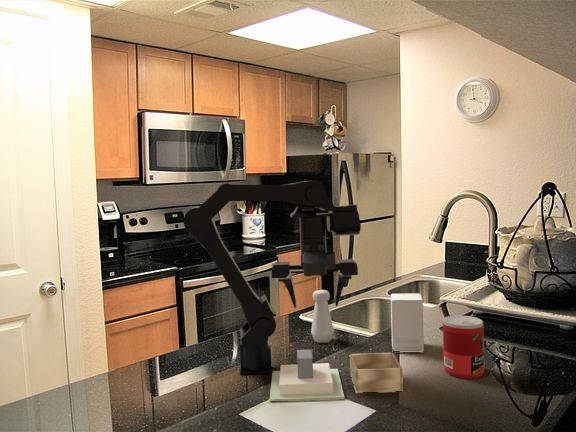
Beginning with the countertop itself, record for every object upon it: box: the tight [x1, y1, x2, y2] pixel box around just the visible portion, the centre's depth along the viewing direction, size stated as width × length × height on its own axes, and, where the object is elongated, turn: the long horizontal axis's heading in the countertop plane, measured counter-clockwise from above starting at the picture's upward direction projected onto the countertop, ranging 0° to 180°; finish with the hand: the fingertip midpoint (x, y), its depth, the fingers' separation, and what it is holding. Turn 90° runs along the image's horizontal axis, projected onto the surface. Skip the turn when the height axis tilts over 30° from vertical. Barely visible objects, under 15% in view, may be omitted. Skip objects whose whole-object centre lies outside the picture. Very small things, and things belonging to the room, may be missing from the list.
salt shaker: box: [310, 289, 334, 344], centre depth 126 cm, size 6×6×13 cm
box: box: [349, 352, 404, 394], centre depth 98 cm, size 9×9×4 cm
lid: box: [279, 349, 333, 395], centre depth 99 cm, size 10×10×6 cm
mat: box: [269, 368, 345, 402], centre depth 99 cm, size 14×14×1 cm
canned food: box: [442, 314, 485, 380], centre depth 102 cm, size 8×8×11 cm
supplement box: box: [390, 293, 425, 352], centre depth 118 cm, size 7×7×13 cm
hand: (315, 306), depth 110 cm, fingers open, 9 cm apart
